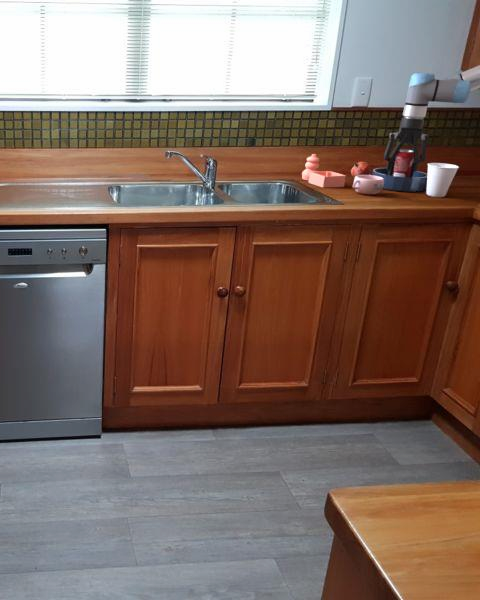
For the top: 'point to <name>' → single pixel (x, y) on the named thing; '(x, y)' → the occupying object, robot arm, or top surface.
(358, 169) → the pomegranate
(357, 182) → the mug
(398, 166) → the soda can
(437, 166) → the cup
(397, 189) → the bowl
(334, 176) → the pottery
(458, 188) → the top surface
